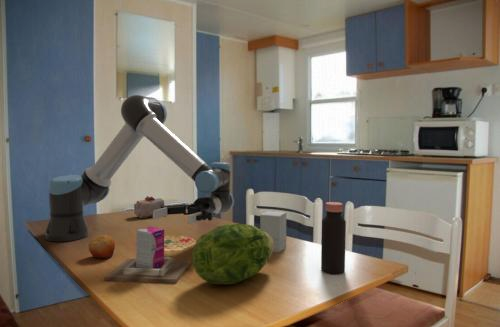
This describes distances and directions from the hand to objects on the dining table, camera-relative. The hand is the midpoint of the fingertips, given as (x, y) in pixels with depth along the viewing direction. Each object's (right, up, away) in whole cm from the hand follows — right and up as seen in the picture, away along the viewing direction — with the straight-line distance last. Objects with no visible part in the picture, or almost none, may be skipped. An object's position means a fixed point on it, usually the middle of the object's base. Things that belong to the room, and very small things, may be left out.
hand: (170, 217), depth 124 cm
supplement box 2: (+33, -13, +14) cm, 38 cm away
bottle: (+49, -15, -8) cm, 52 cm away
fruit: (-23, -14, +4) cm, 27 cm away
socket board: (-4, -14, -10) cm, 18 cm away
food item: (-24, -9, +68) cm, 73 cm away
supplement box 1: (-4, -14, -10) cm, 17 cm away
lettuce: (+22, -15, -15) cm, 30 cm away
